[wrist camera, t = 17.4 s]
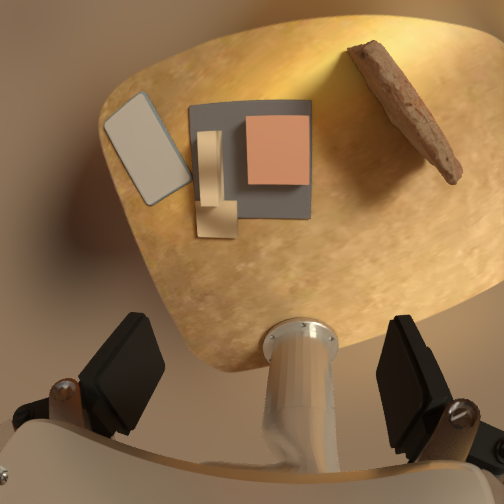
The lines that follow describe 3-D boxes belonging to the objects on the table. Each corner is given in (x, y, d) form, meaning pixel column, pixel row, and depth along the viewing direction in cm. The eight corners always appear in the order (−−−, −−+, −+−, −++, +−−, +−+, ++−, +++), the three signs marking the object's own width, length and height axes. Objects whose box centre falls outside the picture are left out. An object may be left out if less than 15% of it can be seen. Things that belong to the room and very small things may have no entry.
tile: (309, 184, 30) (309, 115, 27) (248, 184, 31) (245, 116, 28) (308, 181, 33) (307, 117, 29) (251, 180, 34) (248, 117, 30)
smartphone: (148, 208, 37) (101, 124, 32) (151, 206, 38) (105, 123, 33) (194, 180, 35) (142, 89, 30) (196, 178, 35) (146, 89, 31)
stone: (358, 43, 24) (336, 58, 26) (362, 18, 16) (334, 37, 18) (444, 160, 28) (423, 174, 30) (474, 175, 20) (448, 193, 22)
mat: (310, 218, 35) (310, 219, 35) (197, 216, 37) (196, 217, 37) (311, 100, 29) (311, 100, 28) (190, 106, 31) (189, 105, 30)
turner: (192, 132, 32) (183, 133, 29) (235, 130, 31) (229, 129, 28) (198, 235, 38) (191, 244, 35) (238, 236, 37) (233, 245, 34)
